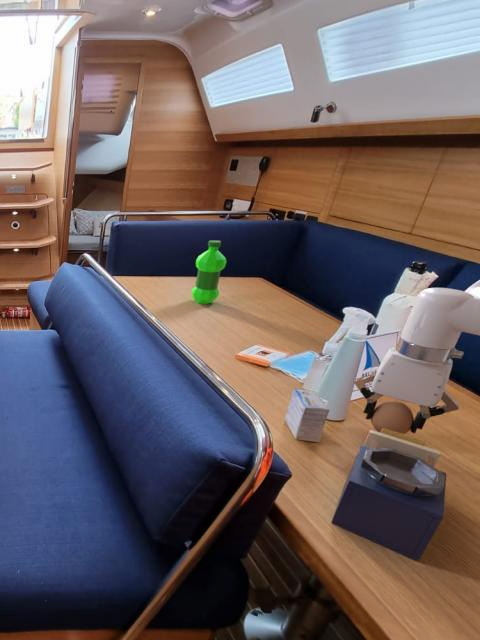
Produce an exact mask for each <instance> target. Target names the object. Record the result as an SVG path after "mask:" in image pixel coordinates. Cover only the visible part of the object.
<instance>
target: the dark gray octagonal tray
mask: <svg viewBox="0 0 480 640" xmlns="http://www.w3.org/2000/svg"><path fill="white" fill-rule="evenodd" d="M361 468H362V470H363V471H364V473H365V474H366V475H367V476H368V477H369V478H371V479H372V480H373V481H375V482H377V483H378V484H380V485H382V486H384V487H386V488H388V489H390V490H392V491H395V492H398V493H401V494H404V495H408V496H413V497H420V498H429V497H433V496H436V495H439V494H440V493H441V491H442V489H443V488H444V477H445V475H443V473H442V472H443V471H442V472H440V471H441V470H439V469H437V468H436V467H435V466H434V467H433V466H432V465H430V464H429V463H427V462H426V461H424V460H423V459H420V458H419V457H416V456H413V455H410V454H407V453H403V452H400V451H397V450H394V449H389V448H371V449H366V452H365V454H364V456H363V460H362V462H361Z"/></svg>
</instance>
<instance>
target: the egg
mask: <svg viewBox="0 0 480 640" xmlns="http://www.w3.org/2000/svg"><path fill="white" fill-rule="evenodd" d="M414 419H415V417H414V414H413V411H412V410H411V408H410V407H409V406H408V405H406V404H405V403H403V402H401V401H397V400H389V401H385V402H383V403H381V404H379V405H378V406H376V407H375V409H374V411H373V414H372V416H371V418H370V423H371V426H372V427H373V429H374V431H377V432H380V433H381V430H382V428H385V429H388V430H391V431H394V432H398V433H401V434H404V435H407V433H409V432H410V430H411V428H412V426H413V423H414Z"/></svg>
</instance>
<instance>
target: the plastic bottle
mask: <svg viewBox="0 0 480 640" xmlns="http://www.w3.org/2000/svg"><path fill="white" fill-rule="evenodd" d="M221 244H222V241H221V240H218V239H217V240H216V239H215V240H213V239H211V240H208V241H207V247H208V249H207V250H206V251H204V252H202V253H201V254H200V255H198V256H197V258H196V259H195V267H196V268H197V273H196V275H197V276H196V279H195V280H196V281H195V285H194V287H193V288H192V289H191V296H192V298H193V299H194V300H195V301H196V303H198V304H201V305H209V304H211V303H213V302H214V301H215V300H217V299H218V297H219V295H220V292H219V291H220V290H219V288H218V286H219V281H220V277H221V271H222V270H224V269H225V268H226V265H227V263H228V262H227V258H226V257H225V256H224V254H222V253H221V251H220V250H219V248H220V247H221Z"/></svg>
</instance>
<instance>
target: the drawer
mask: <svg viewBox="0 0 480 640" xmlns="http://www.w3.org/2000/svg"><path fill="white" fill-rule="evenodd" d="M425 444H426V440H424V439H420V438H417V437H414V436H410V435H407V434H401V433H398V432H394V431H391V430H388V429H385V428H382V430H381V433H380V432H378V431H377V430H373V429H369V431H368V434H367V436H366V438H365V442H364V444H363V445H364V446H367V447H370V448H389V449H394V450H397V451H400V452H403V453H407V454H410V455H413V456H416V457H419V458H420V459H423V460H424V461H426V462H427V463H429V464H430V465H432V466H433V467H434V468H435V466H436V465H437V462H438V461H439V459H440V457H441V455H442V454H441V453H442V451H441V450H437V449H435V448H431V447H428V446H425Z"/></svg>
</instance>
